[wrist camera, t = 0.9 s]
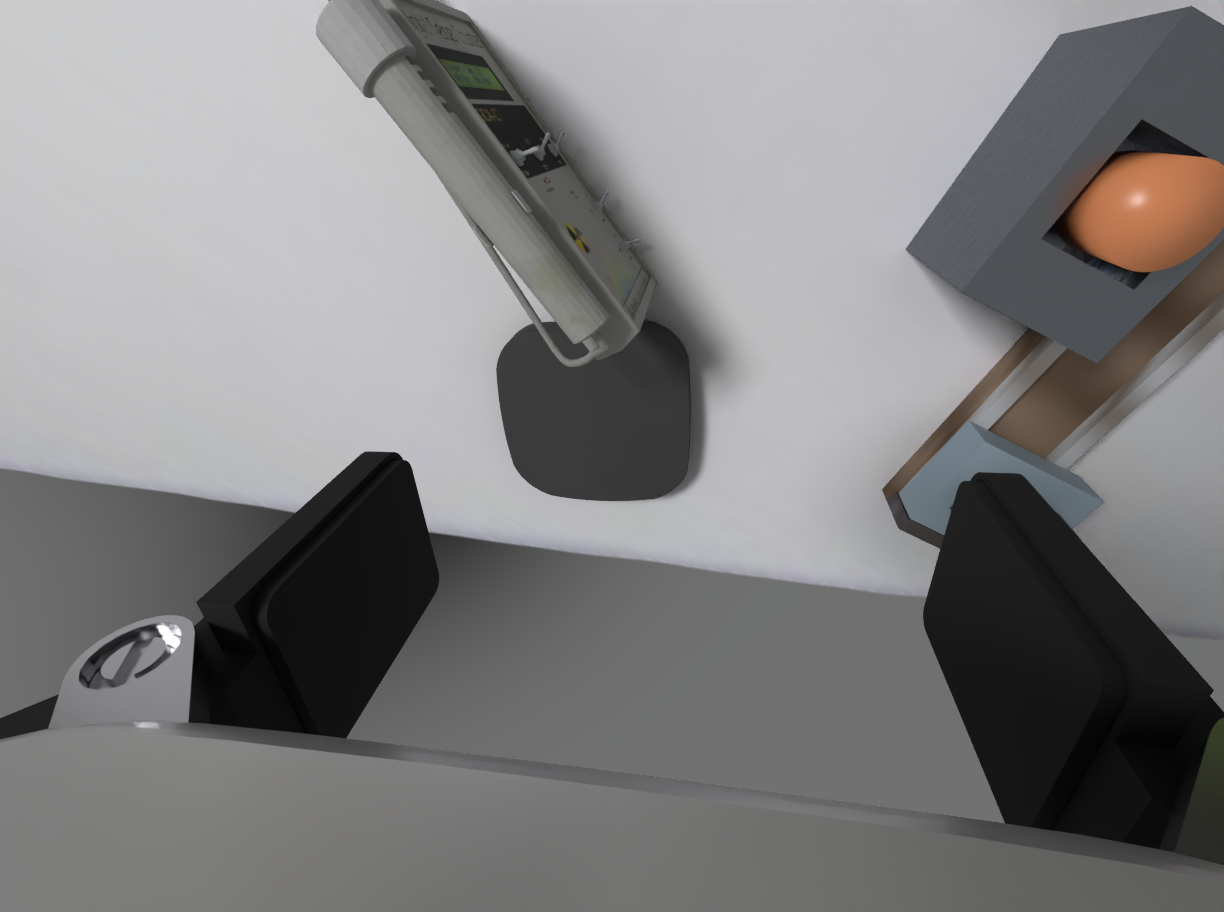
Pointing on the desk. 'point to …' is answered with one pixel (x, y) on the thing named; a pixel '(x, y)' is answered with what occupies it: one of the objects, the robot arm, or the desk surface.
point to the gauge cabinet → (1078, 175)
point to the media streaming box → (597, 415)
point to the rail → (1077, 384)
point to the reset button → (1147, 210)
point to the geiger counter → (496, 165)
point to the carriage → (991, 453)
